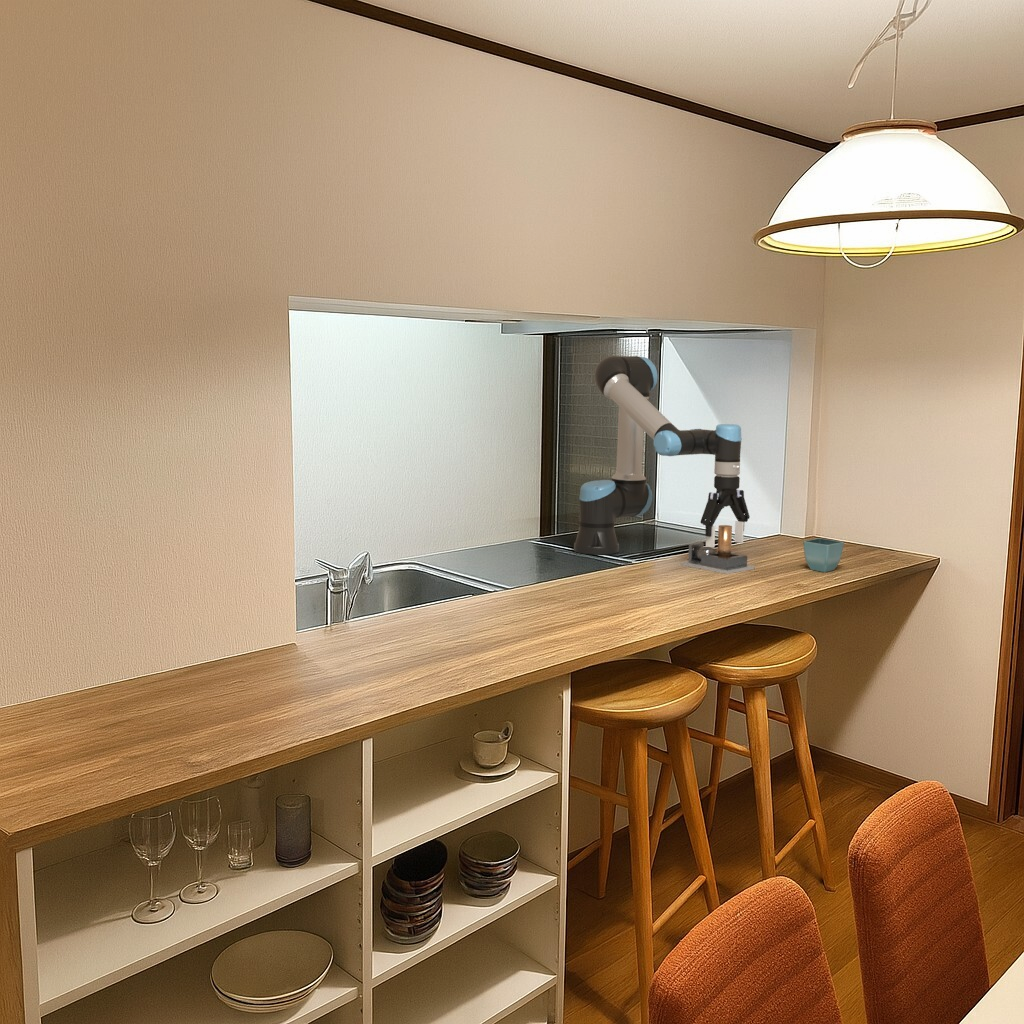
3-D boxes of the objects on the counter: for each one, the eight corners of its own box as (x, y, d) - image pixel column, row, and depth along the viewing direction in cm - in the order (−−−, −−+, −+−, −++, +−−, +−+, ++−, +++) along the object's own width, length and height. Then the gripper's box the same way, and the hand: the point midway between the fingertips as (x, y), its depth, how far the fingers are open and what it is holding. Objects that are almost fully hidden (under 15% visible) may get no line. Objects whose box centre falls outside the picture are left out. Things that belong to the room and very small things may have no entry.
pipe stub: (714, 564, 300) (715, 525, 298) (722, 563, 302) (724, 524, 300) (725, 566, 297) (726, 527, 295) (733, 564, 299) (734, 526, 297)
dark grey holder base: (680, 564, 305) (680, 545, 304) (707, 559, 313) (708, 541, 312) (726, 573, 290) (727, 553, 290) (754, 568, 298) (755, 549, 298)
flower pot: (826, 574, 290) (828, 544, 289) (801, 570, 297) (802, 540, 296) (843, 570, 296) (844, 541, 295) (817, 566, 303) (819, 538, 301)
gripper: (709, 479, 285) (707, 550, 288) (762, 474, 300) (760, 542, 303) (690, 476, 291) (687, 547, 294) (743, 472, 306) (740, 538, 309)
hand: (724, 544), depth 298 cm, fingers open, 13 cm apart
